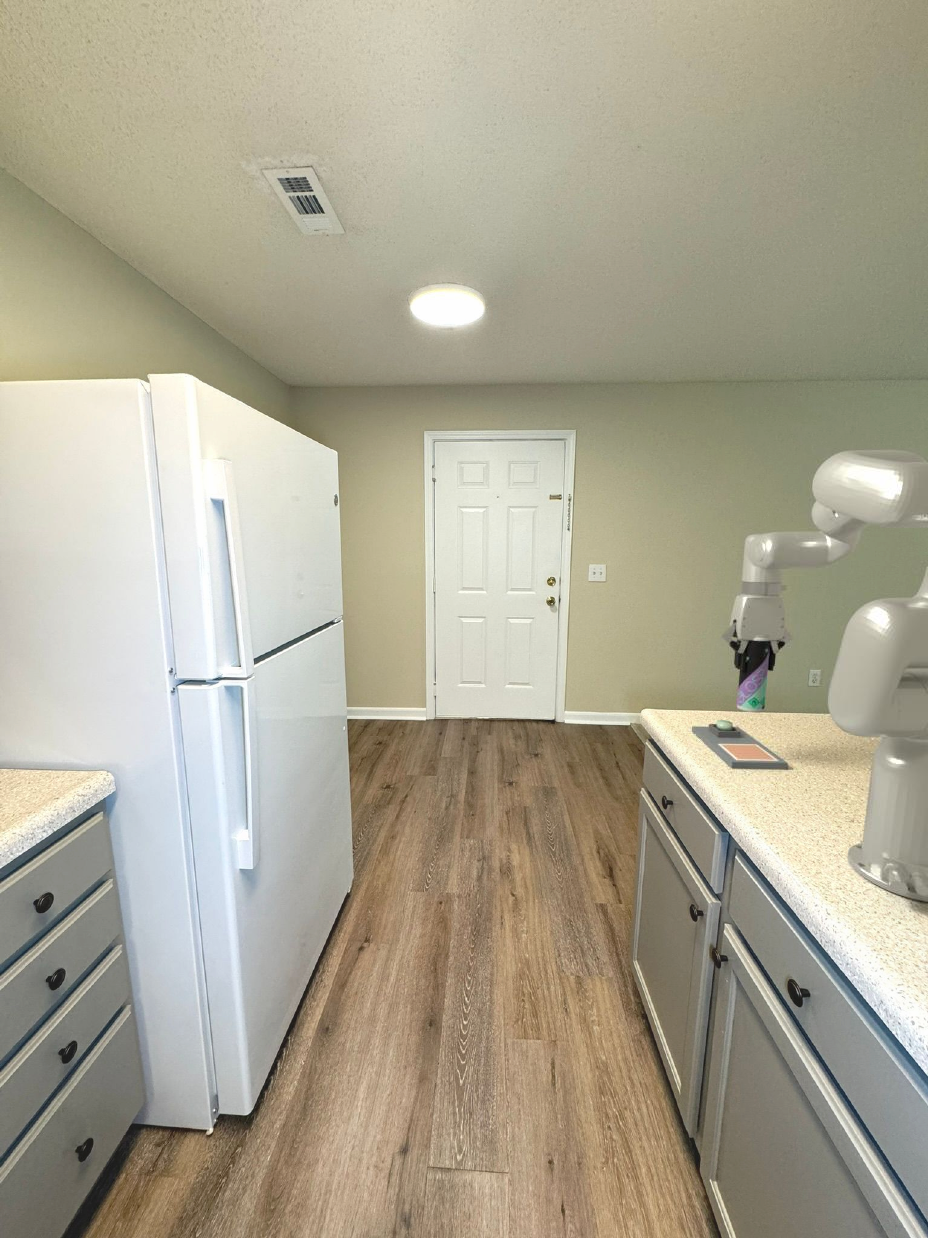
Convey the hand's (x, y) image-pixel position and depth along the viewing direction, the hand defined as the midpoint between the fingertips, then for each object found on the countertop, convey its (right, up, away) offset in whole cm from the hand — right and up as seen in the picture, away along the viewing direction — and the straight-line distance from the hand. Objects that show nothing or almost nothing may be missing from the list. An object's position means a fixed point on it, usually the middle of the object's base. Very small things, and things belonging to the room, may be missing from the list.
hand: (753, 668), depth 112 cm
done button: (+1, -17, +14) cm, 22 cm away
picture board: (0, -21, +9) cm, 22 cm away
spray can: (0, -10, +2) cm, 10 cm away
